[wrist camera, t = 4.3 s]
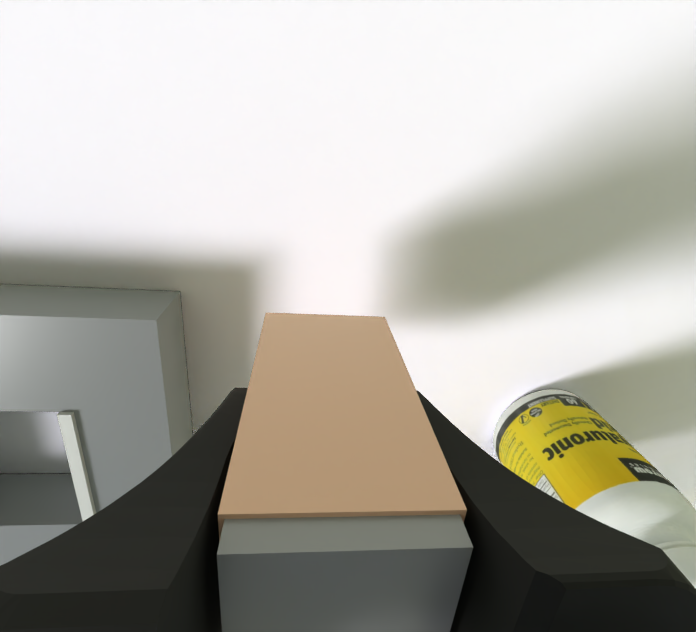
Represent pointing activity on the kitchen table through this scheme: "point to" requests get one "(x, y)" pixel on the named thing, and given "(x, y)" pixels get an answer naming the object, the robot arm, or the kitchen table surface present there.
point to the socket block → (89, 398)
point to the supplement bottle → (595, 472)
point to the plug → (337, 490)
